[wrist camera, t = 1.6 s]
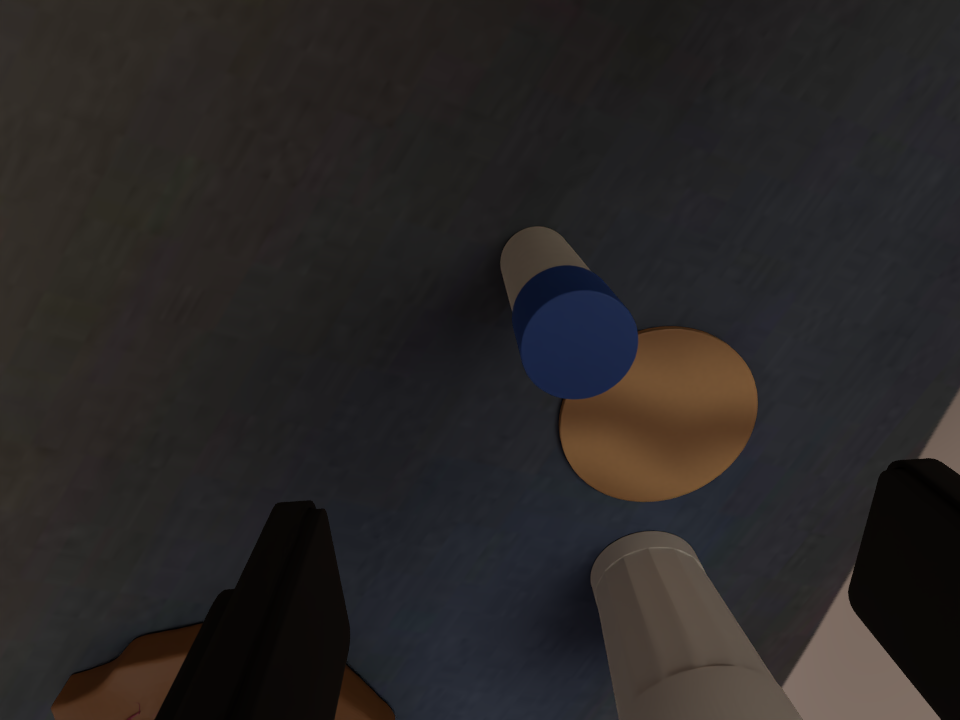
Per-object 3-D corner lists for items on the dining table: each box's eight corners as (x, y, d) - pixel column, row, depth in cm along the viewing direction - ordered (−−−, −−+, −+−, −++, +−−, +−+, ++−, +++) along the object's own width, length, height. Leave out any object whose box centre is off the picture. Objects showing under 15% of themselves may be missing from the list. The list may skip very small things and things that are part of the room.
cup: (658, 495, 31) (770, 709, 20) (738, 572, 33) (876, 801, 22) (548, 574, 33) (593, 808, 22) (631, 642, 35) (709, 882, 24)
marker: (496, 226, 24) (518, 294, 15) (573, 221, 24) (642, 286, 15) (499, 300, 26) (522, 403, 17) (573, 295, 26) (635, 396, 17)
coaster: (558, 333, 27) (559, 336, 26) (767, 319, 27) (772, 321, 26) (558, 503, 31) (560, 508, 30) (740, 490, 31) (744, 495, 30)
